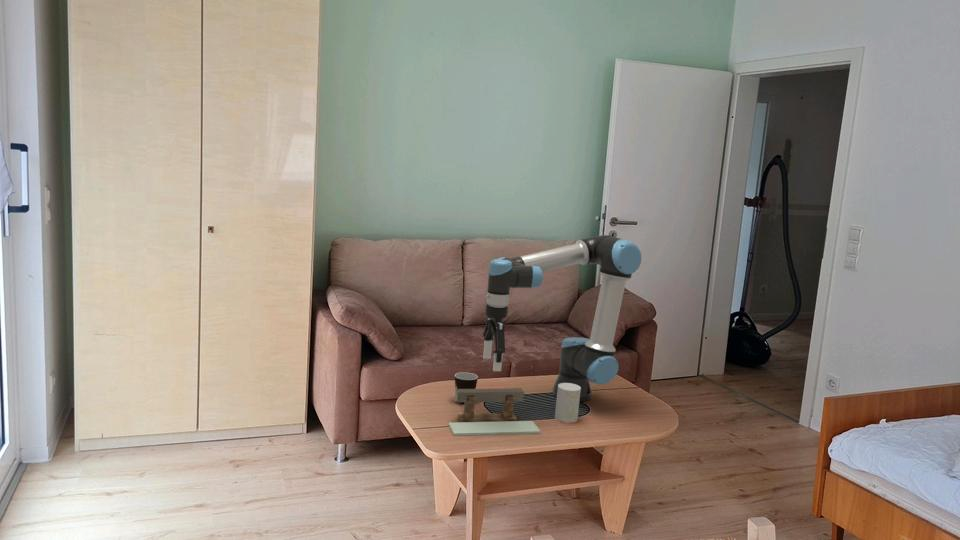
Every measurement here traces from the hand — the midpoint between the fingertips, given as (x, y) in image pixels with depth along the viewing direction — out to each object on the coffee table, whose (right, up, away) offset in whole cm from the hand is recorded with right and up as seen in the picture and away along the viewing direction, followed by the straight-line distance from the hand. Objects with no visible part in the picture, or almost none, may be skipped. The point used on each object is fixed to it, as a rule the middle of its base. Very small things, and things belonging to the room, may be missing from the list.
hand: (491, 364), depth 253 cm
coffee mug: (-10, -16, +20) cm, 27 cm away
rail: (-1, -13, +2) cm, 13 cm away
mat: (+1, -21, -5) cm, 22 cm away
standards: (-1, -20, +4) cm, 20 cm away
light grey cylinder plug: (+27, -21, +10) cm, 35 cm away
